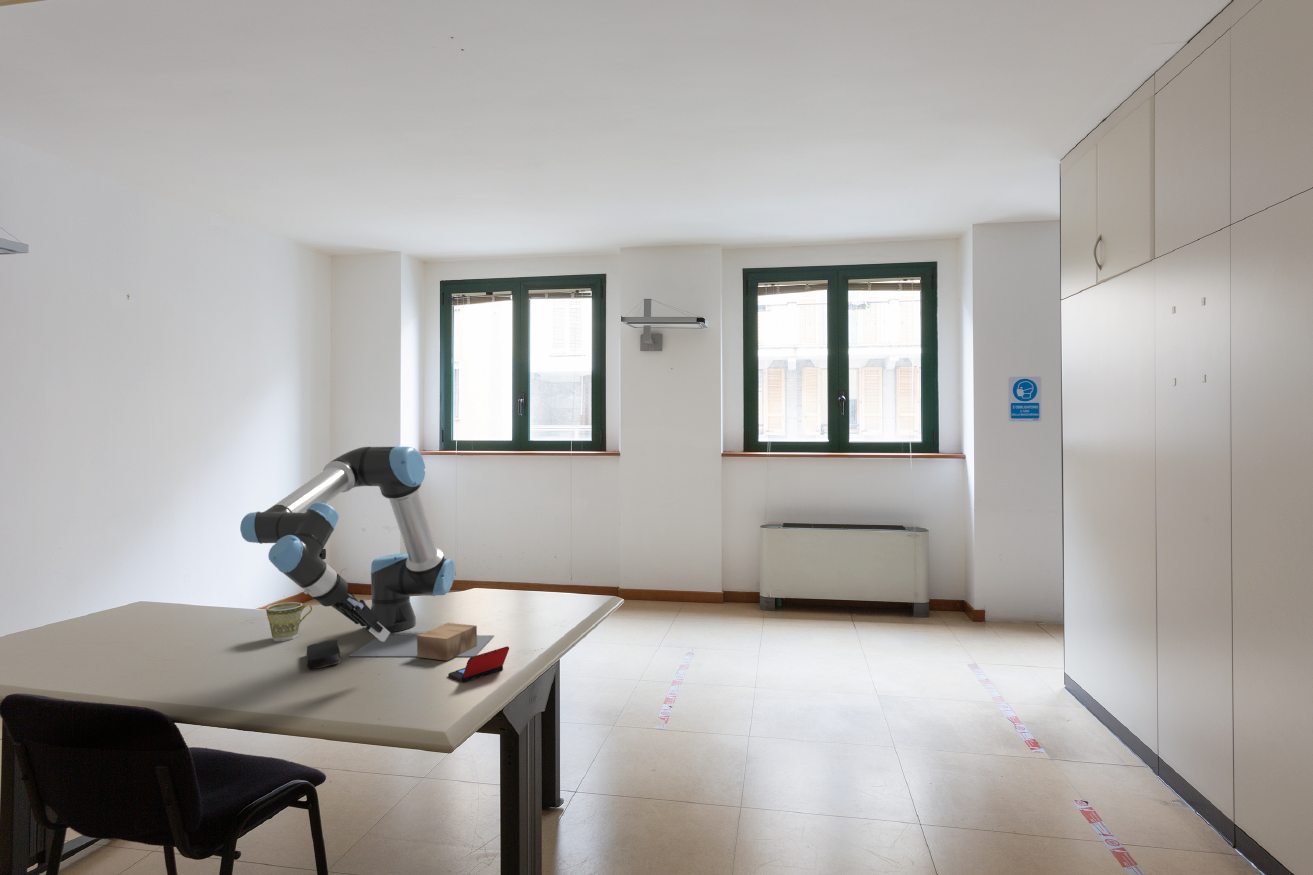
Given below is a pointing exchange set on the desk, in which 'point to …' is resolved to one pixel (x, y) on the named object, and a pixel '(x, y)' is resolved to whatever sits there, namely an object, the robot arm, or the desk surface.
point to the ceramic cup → (285, 620)
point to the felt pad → (408, 647)
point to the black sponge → (323, 654)
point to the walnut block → (446, 641)
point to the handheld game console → (481, 665)
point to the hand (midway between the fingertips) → (385, 636)
